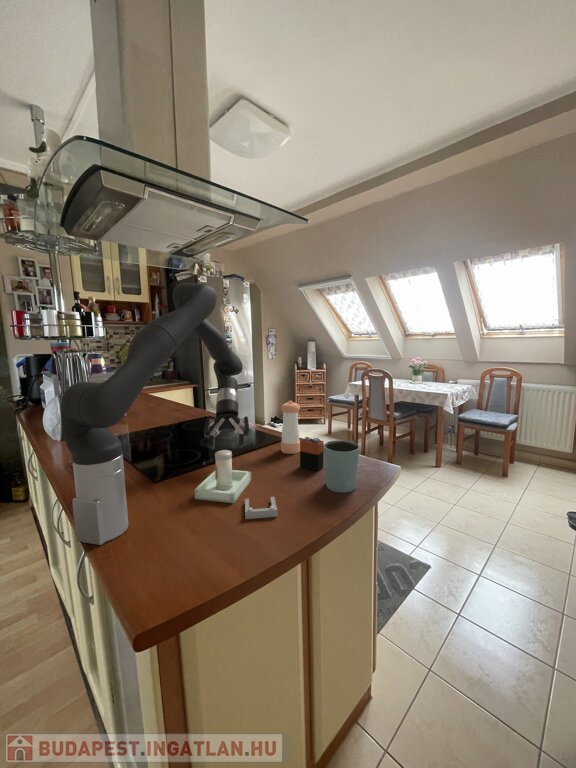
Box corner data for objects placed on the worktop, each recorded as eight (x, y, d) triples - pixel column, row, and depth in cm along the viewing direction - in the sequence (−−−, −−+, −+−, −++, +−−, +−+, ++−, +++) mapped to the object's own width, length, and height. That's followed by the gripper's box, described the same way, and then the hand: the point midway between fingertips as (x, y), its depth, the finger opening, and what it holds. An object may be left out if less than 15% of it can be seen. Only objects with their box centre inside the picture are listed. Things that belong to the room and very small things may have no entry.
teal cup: (324, 493, 87) (324, 451, 86) (322, 477, 97) (322, 439, 96) (361, 494, 87) (362, 452, 85) (355, 478, 97) (356, 440, 95)
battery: (317, 472, 101) (318, 441, 100) (299, 467, 105) (299, 438, 103) (323, 467, 105) (324, 438, 103) (306, 463, 108) (306, 434, 107)
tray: (233, 503, 82) (233, 493, 82) (194, 498, 84) (194, 489, 84) (251, 479, 96) (251, 471, 95) (217, 476, 98) (216, 468, 98)
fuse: (232, 489, 88) (231, 455, 87) (215, 491, 87) (214, 456, 86) (232, 482, 93) (232, 449, 91) (216, 483, 92) (215, 450, 90)
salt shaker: (277, 451, 120) (276, 401, 117) (288, 445, 125) (288, 398, 123) (292, 455, 115) (292, 403, 112) (303, 449, 121) (304, 400, 118)
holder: (277, 516, 76) (277, 507, 76) (245, 519, 75) (245, 510, 75) (274, 501, 83) (274, 492, 83) (245, 503, 82) (244, 494, 82)
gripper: (204, 398, 105) (201, 443, 95) (248, 397, 107) (249, 441, 97) (207, 410, 111) (204, 454, 101) (248, 409, 113) (249, 451, 103)
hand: (226, 447), depth 99 cm, fingers open, 8 cm apart
